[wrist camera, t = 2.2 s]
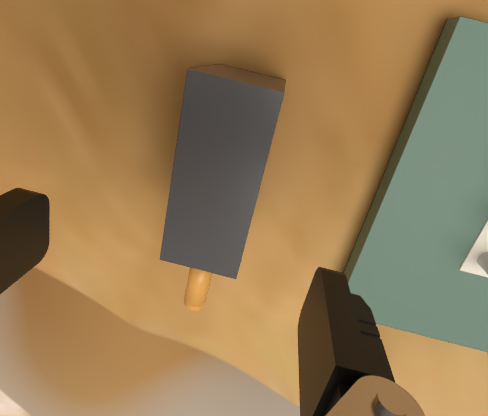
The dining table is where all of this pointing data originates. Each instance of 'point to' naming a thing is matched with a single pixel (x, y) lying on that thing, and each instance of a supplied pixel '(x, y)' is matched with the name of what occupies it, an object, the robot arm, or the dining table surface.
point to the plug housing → (218, 171)
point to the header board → (434, 204)
